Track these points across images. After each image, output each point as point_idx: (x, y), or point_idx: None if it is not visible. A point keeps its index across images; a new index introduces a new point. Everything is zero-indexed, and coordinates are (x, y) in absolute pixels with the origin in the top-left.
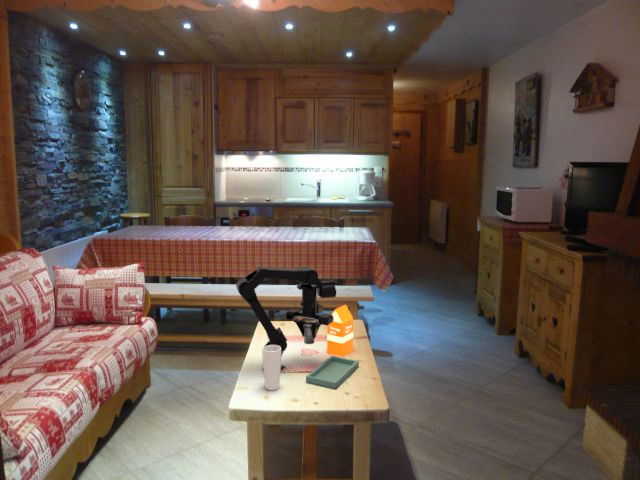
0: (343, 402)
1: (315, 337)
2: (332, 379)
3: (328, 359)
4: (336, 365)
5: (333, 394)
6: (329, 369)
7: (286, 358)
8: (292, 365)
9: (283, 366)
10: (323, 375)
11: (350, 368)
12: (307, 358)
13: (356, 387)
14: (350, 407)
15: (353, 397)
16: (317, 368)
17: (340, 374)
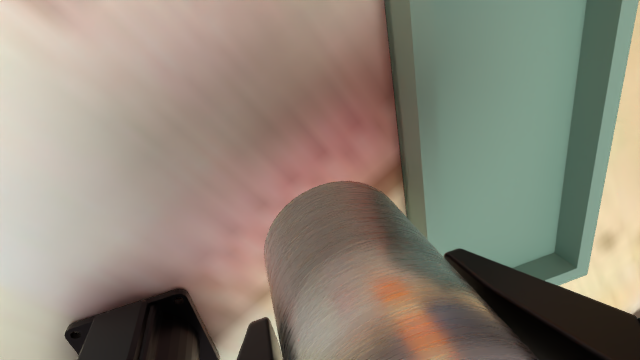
0: (609, 296)
1: (467, 256)
2: (524, 210)
3: (427, 51)
4: (469, 27)
5: (561, 285)
6: (456, 121)
7: (25, 175)
8: (192, 228)
9: (177, 296)
10: (463, 210)
11: (621, 79)
12: (165, 43)
13: (634, 175)
14: (636, 301)
15: (635, 248)
16: (437, 230)
17: (541, 132)
